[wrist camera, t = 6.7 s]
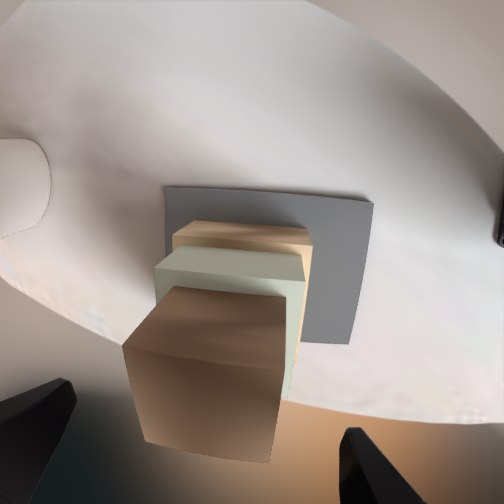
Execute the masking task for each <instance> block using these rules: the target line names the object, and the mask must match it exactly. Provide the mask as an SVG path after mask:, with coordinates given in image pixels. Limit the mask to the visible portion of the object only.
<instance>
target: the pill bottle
mask: <svg viewBox="0 0 504 504" xmlns="http://www.w3.org/2000/svg"><path fill="white" fill-rule="evenodd" d="M50 190H51V177H50V169H49V165H48V161H47V159H46V156H45V154H44V152H43V151H42V149H41V148H40V147H39V146H38V145H37V144H36V143H35V142H33V141H31V140H27V139H0V239H2V238H4V237H7V236H10V235H12V234H15V233H18V232H21V231H23V230H26V229H28V228H30V227H32V226H34V225H35V224H36V223H37V222H38V221H39V220H40V219H41V218H42V216H43V215H44V213H45V211H46V208H47V205H48V202H49V197H50Z"/></svg>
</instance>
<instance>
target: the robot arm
mask: <svg viewBox="0 0 504 504" xmlns="http://www.w3.org/2000/svg"><path fill="white" fill-rule="evenodd" d="M503 239H504V201H503V208H502V215H501V222H500V228H499V234H498V239H497V243H498V245H499V246H501V247H503V248H504V240H503ZM502 240H503V242H502ZM76 403H77V397H76V394H75V391H74V389H73V386H72V383H71V382H70V381H69V380H67V379H64V378H58V379H56V380H53V381H51V382H48V383H45V384H43V385H41V386H38V387H36V388H33V389H31V390H28V391H26V392H24V393H21V394H18V395H16V396H13V397H11V398H8V399H6V400H3V401H0V504H28V503H29V501H30V499H31V497H32V495H33V493H34V491H35V489H36V487H37V485H38V483H39V480H40V479H41V477H42V475H43V473H44V471H45V469H46V467H47V465H48V463H49V461H50V459H51V457H52V455H53V453H54V451H55V450H56V448H57V446H58V444H59V442H60V440H61V438H62V436H63V434H64V432H65V430H66V427H67V425H68V422H69V420H70V417H71V415H72V413H73V410H74V408H75V406H76ZM339 495H340V504H427V503H426V502H425V501H423V499H422V498H421V496H420V495H419V494H418V493H417V492H416V491H415V490H414V488H413V487H412V486H411V485H410V484H409V483H408V482H407V481H406V479H405V478H404V477H403V476H402V475H401V474H400V473H399V471H398V470H397V469H396V468H395V467H394V466H393V464H392V463H391V462H390V461H389V460H388V459H387V457H386V456H385V455H384V454H383V453H382V452H381V450H380V449H379V448H378V447H377V446H376V445H375V444H374V443H373V441H372V440H371V439H370V438H369V436H368V435H367V434H366V433H365V432H364V430H363V429H362V428H360V427H348V428H347V429H346V431H345V433H344V436H343V438H342V440H341V443H340V448H339Z"/></svg>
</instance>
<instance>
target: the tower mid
mask: <svg viewBox="0 0 504 504" xmlns="http://www.w3.org/2000/svg"><path fill="white" fill-rule="evenodd" d="M154 278H155V293H156V305H157V304H158V303H159V302H160V301H161V299H162V298H163V297H164V296H165V295H166V294H167V293H168V291H169V290H170V289H171V288H172V287H173V286H181V287H189V288H198V289H207V290H216V291H225V292H235V293H245V294H255V295H266V296H278V297H286V354H285V374H284V380H283V387H282V393H281V398H288V394H289V388H290V383H291V377H292V371H293V365H294V359H295V353H296V347H297V340H298V333H299V327H300V320H301V313H302V306H303V298H304V290H305V283H306V281H305V275H304V269H303V262H302V256H301V255H295V254H283V253H271V252H259V251H247V250H236V249H224V248H212V247H200V246H188V245H181V246H179V247H178V248H177V249H176V250H175V251H173V252H172V253H171V254H170V255H168V256H167V257H166V258H165V259H163V260H162V261H161V262H160V263H159V264H157V265H156V266H155V267H154Z"/></svg>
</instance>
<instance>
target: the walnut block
mask: <svg viewBox="0 0 504 504" xmlns="http://www.w3.org/2000/svg"><path fill="white" fill-rule="evenodd" d="M122 348H123V353H124V358H125V363H126V368H127V373H128V377H129V381H130V386H131V390H132V394H133V398H134V402H135V406H136V410H137V414H138V417H139V421H140V424H141V428H142V431H143V435H144V438H145V441H146V442H150V443H153V444H157V445H161V446H165V447H169V448H173V449H178V450H182V451H187V452H191V453H197V454H202V455H208V456H213V457H219V458H226V459H234V460H240V461H249V462H259V463H269V461H270V455H271V450H272V445H273V439H274V434H275V428H276V423H277V416H278V411H279V405H280V399H281V393H282V387H283V380H284V374H285V354H286V297H278V296H266V295H255V294H245V293H235V292H225V291H216V290H207V289H198V288H189V287H181V286H173V287H172V288H171V289H170V290H169V291H168V293H167V294H166V295H165V296H164V297H163V298H162V299H161V301H160V302H159V303H158V304H157V305H156V306H155V307H154V309H153V310H152V311H151V312H150V313H149V314H148V315H147V317H146V318H145V319H144V320H143V321H142V322H141V324H140V325H139V326H138V327H137V328H136V329H135V331H134V332H133V333H132V334H131V335H130V336H129V338H128V339H127V340H126V341H125V342H124V344H123V345H122Z"/></svg>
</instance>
